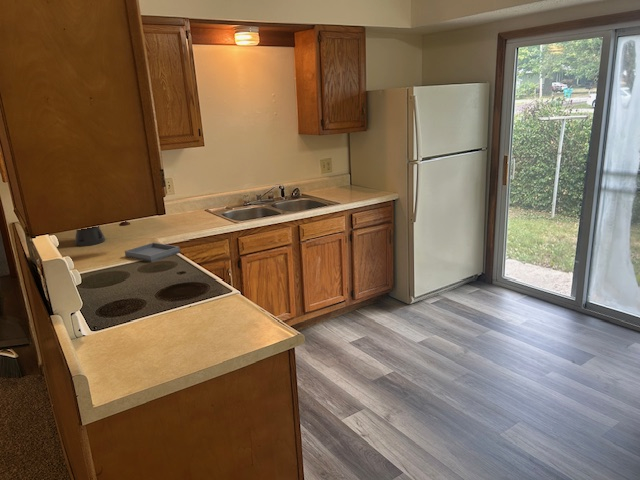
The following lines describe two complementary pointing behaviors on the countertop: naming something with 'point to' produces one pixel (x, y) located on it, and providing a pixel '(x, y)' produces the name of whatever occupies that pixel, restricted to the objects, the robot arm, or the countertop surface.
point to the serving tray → (152, 252)
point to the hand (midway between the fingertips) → (123, 218)
